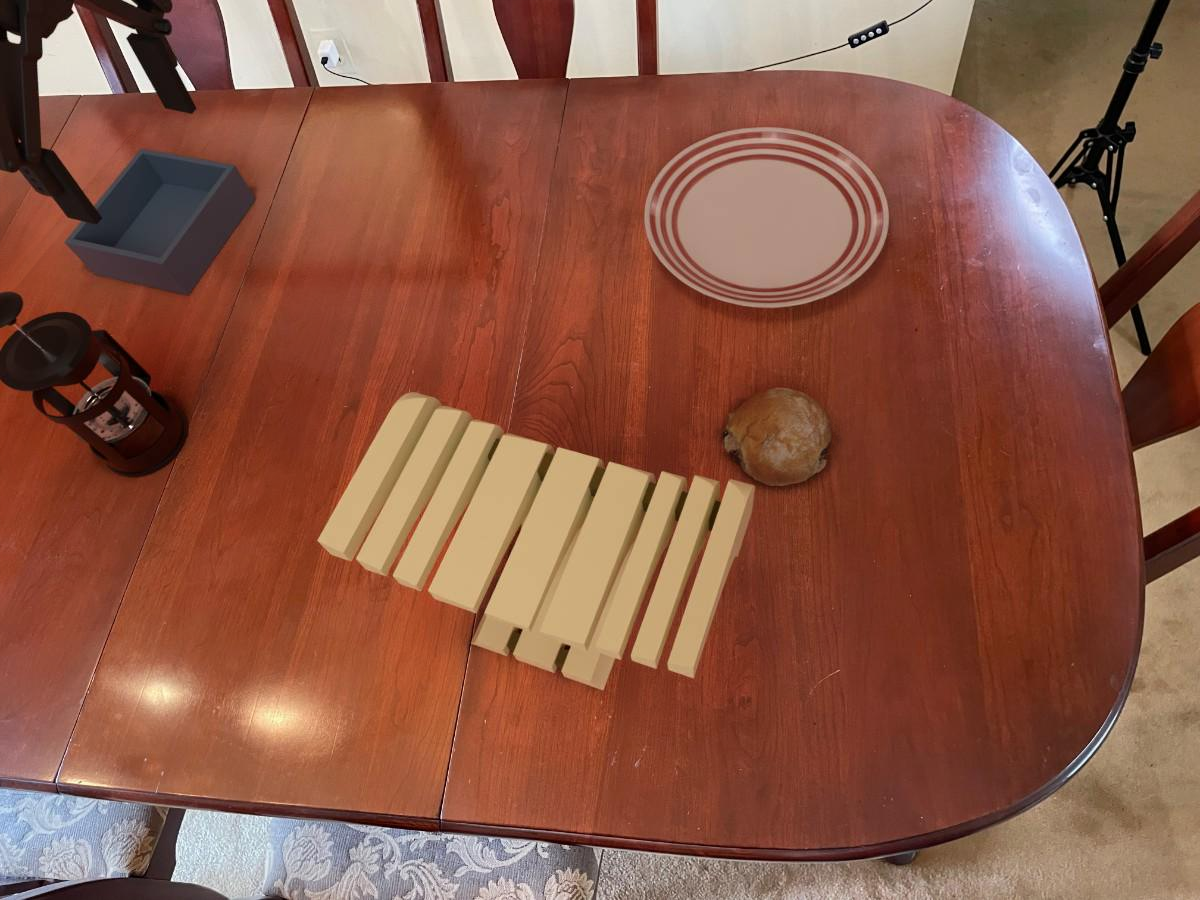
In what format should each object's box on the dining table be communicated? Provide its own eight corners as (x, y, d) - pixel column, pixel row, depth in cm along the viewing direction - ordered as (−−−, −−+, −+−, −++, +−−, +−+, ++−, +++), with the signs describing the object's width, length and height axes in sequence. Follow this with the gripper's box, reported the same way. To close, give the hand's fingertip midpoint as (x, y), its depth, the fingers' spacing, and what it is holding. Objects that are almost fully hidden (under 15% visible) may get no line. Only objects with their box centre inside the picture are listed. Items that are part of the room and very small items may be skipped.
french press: (176, 479, 90) (28, 352, 70) (93, 486, 91) (-78, 362, 71) (199, 388, 96) (67, 247, 76) (120, 395, 97) (-31, 257, 77)
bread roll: (793, 512, 85) (838, 487, 78) (703, 469, 83) (741, 441, 76) (814, 429, 89) (858, 400, 82) (729, 388, 88) (766, 353, 81)
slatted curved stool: (746, 557, 79) (757, 468, 64) (695, 723, 72) (693, 667, 57) (461, 473, 87) (410, 375, 72) (391, 615, 80) (317, 540, 65)
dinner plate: (916, 180, 100) (923, 158, 97) (835, 354, 89) (840, 335, 86) (703, 125, 109) (703, 103, 106) (605, 278, 98) (602, 258, 95)
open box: (93, 274, 107) (63, 242, 102) (165, 182, 114) (140, 147, 109) (188, 296, 103) (162, 263, 98) (256, 199, 111) (235, 164, 106)
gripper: (-145, 6, 45) (81, 280, 63) (129, -208, 56) (252, 75, 75) (-253, -15, 46) (-2, 259, 64) (36, -220, 58) (179, 61, 76)
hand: (135, 161), depth 70 cm, fingers open, 13 cm apart
